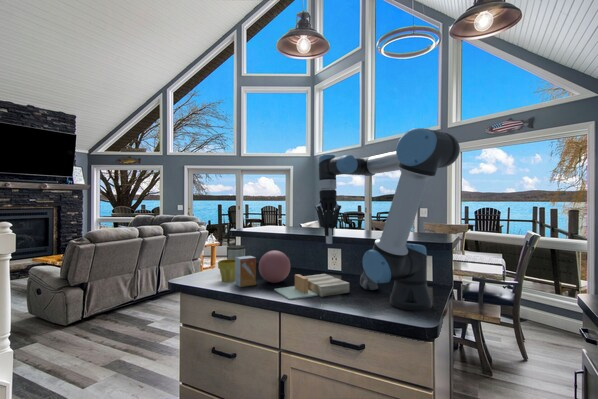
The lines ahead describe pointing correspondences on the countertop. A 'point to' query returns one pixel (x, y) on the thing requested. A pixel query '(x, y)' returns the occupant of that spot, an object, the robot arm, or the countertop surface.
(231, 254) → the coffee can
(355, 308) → the countertop surface
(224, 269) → the plant pot
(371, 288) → the mineral rock
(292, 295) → the mat
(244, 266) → the small box
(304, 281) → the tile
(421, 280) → the robot arm
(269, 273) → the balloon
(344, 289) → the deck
